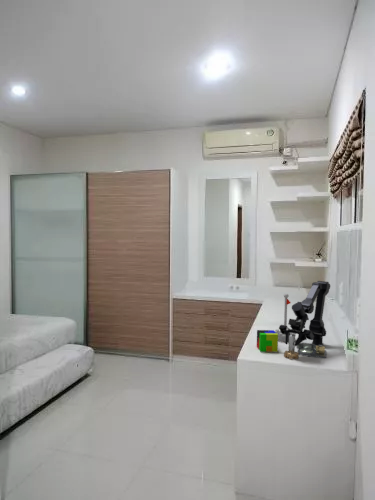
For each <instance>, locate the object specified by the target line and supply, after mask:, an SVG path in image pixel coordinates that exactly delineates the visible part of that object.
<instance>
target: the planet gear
mask: <svg viewBox="0 0 375 500" xmlns="http://www.w3.org/2000/svg"><path fill="white" fill-rule="evenodd" d="M295 342H296V336H295V335H289V342H288V350H285V351H284V353H283V354H284V355H283V357H284V358H286V359H289V360H298V359H299V356H300V355H299V353H298V351H295V347H296V346H295Z"/></svg>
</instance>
